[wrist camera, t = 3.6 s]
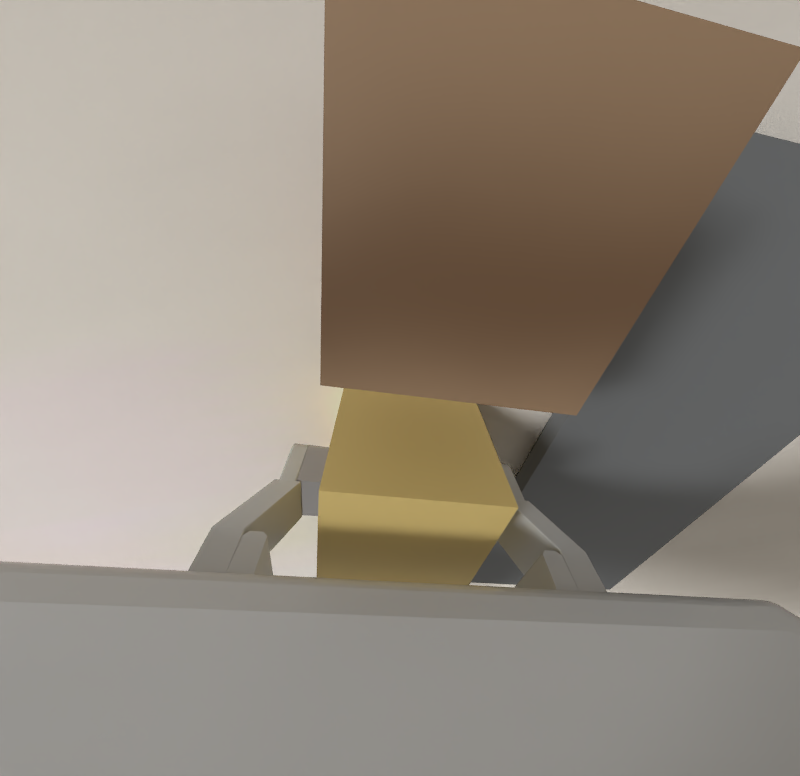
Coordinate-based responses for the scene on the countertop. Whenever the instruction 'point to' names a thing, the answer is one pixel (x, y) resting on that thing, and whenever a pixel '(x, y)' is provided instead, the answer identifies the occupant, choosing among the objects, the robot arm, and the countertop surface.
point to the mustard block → (409, 491)
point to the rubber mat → (684, 383)
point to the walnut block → (517, 184)
